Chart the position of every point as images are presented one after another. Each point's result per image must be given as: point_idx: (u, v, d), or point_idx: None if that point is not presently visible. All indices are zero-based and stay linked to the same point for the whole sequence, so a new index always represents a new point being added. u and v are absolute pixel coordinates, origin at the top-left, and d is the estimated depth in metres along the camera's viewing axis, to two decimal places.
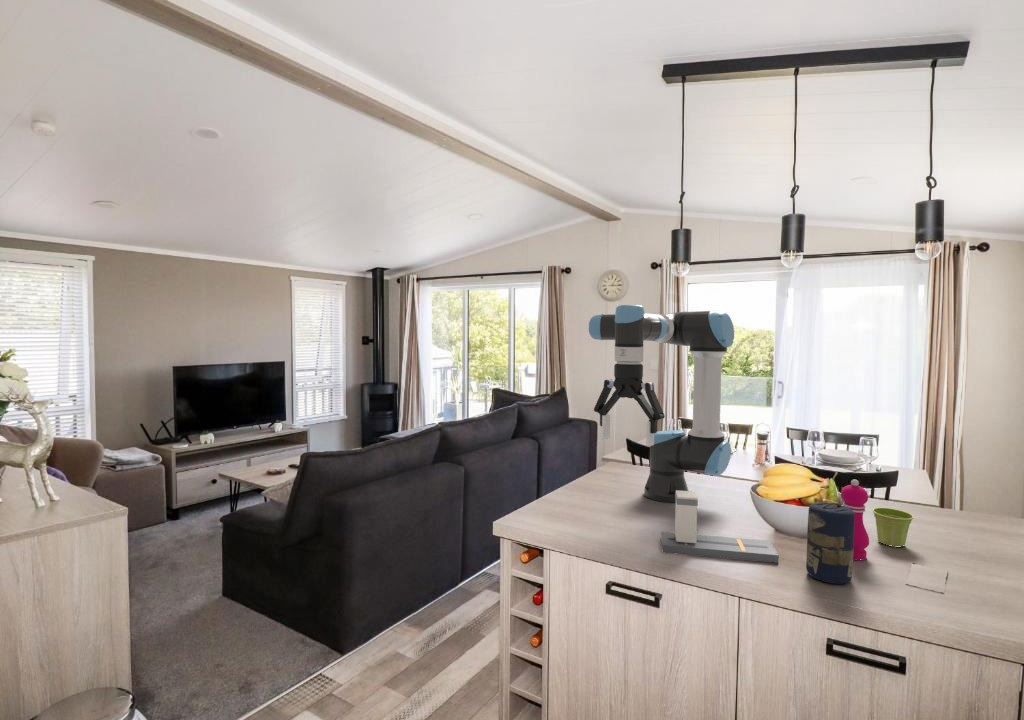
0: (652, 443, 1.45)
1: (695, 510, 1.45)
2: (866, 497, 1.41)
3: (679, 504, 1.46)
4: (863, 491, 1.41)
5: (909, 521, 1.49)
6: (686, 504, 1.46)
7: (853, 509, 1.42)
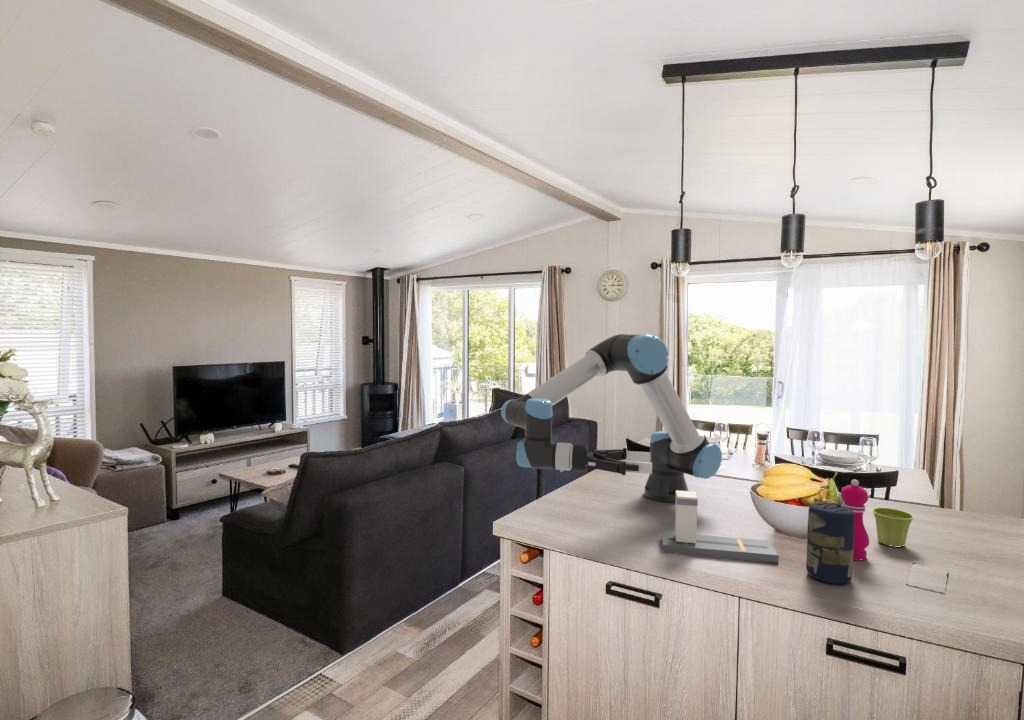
0: (650, 466, 1.43)
1: (695, 510, 1.45)
2: (866, 497, 1.41)
3: (679, 504, 1.46)
4: (863, 491, 1.41)
5: (909, 521, 1.49)
6: (686, 504, 1.46)
7: (853, 509, 1.42)
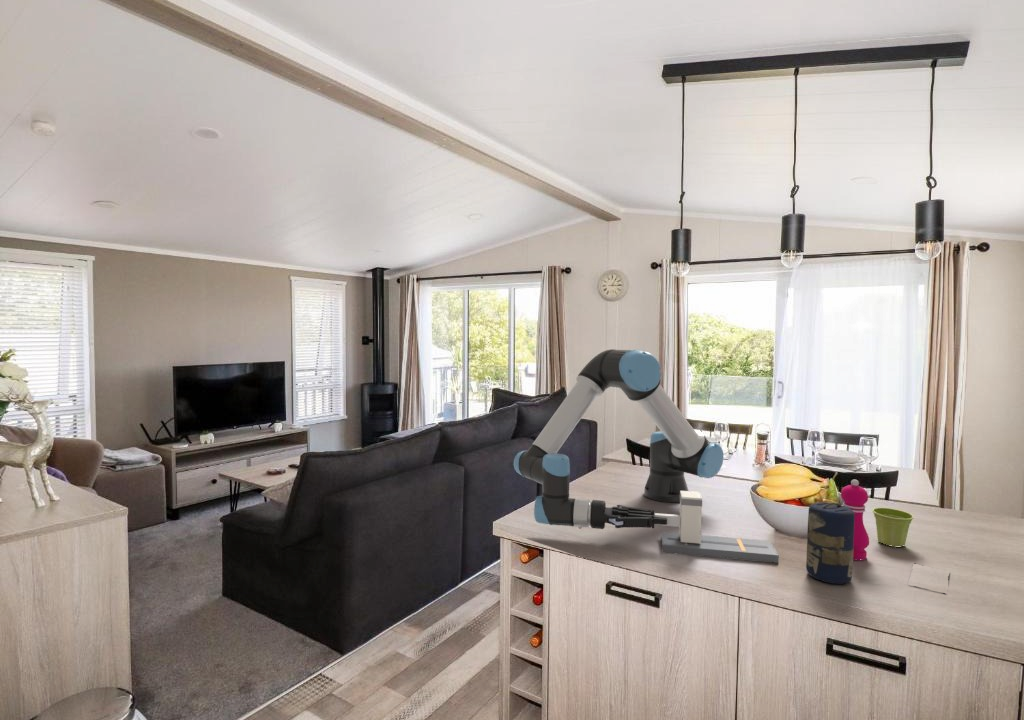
0: (678, 519, 1.48)
1: (700, 510, 1.45)
2: (866, 497, 1.41)
3: (684, 504, 1.46)
4: (863, 491, 1.41)
5: (909, 521, 1.49)
6: (691, 504, 1.45)
7: (853, 509, 1.42)
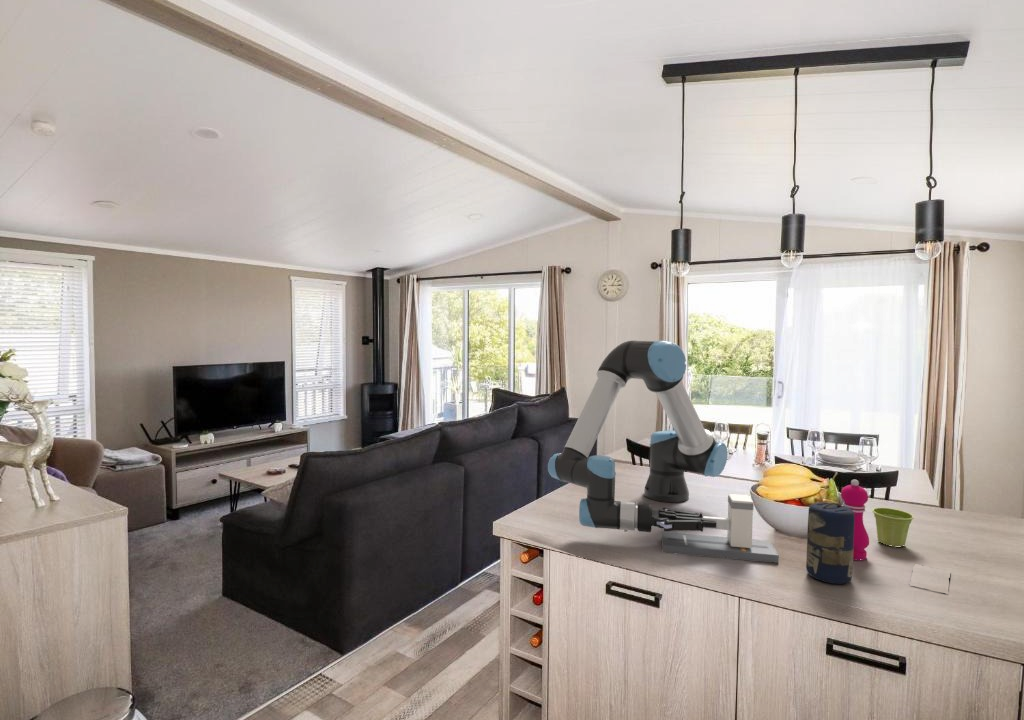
0: (727, 522, 1.45)
1: (751, 514, 1.42)
2: (866, 497, 1.41)
3: (734, 508, 1.43)
4: (863, 491, 1.41)
5: (909, 521, 1.49)
6: (741, 508, 1.43)
7: (853, 509, 1.42)
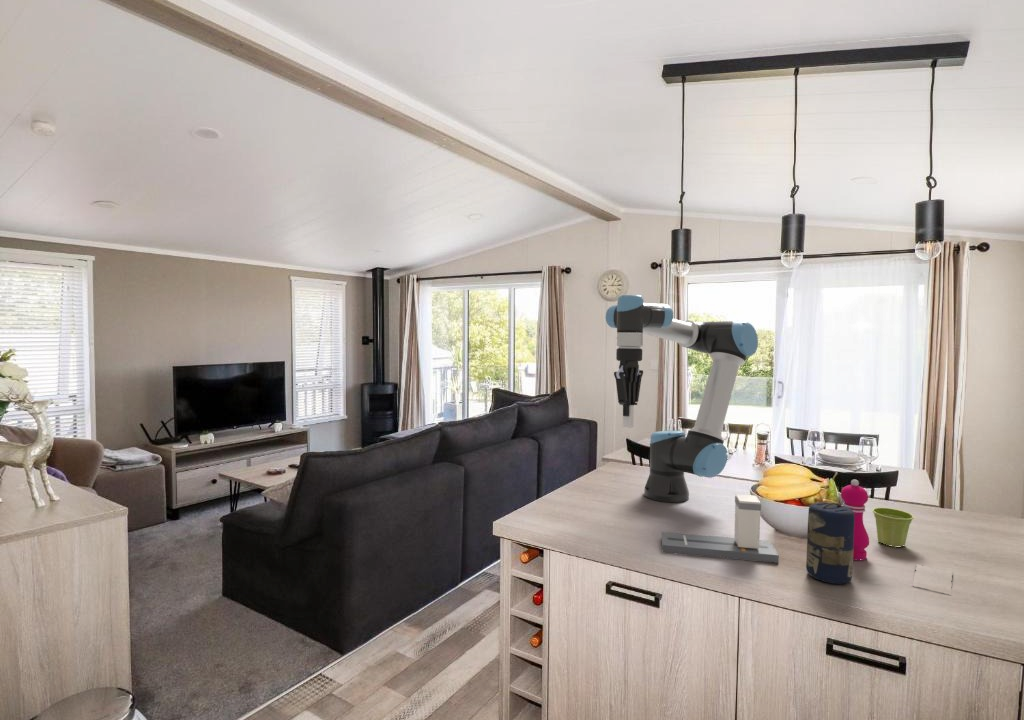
0: (628, 425, 1.65)
1: (758, 515, 1.42)
2: (866, 497, 1.41)
3: (741, 509, 1.43)
4: (863, 491, 1.41)
5: (909, 521, 1.49)
6: (749, 509, 1.42)
7: (853, 509, 1.42)
